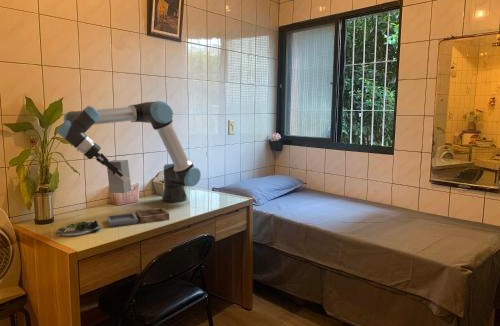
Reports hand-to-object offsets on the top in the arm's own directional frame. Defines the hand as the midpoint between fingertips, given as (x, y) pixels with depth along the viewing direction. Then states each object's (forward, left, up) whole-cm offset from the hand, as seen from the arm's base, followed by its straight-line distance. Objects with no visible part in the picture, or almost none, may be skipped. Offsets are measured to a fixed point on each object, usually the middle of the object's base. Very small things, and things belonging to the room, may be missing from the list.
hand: (125, 178), depth 183 cm
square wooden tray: (-12, -1, -22) cm, 25 cm away
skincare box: (+3, 0, -7) cm, 7 cm away
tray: (+3, 0, -22) cm, 22 cm away
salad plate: (+22, +5, -22) cm, 31 cm away
